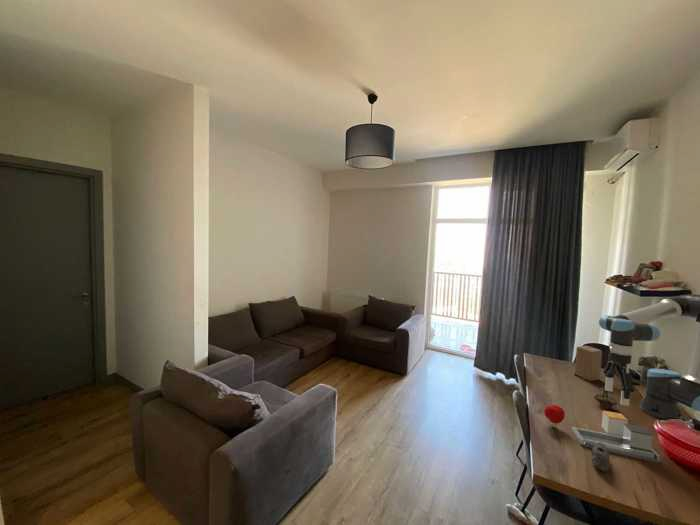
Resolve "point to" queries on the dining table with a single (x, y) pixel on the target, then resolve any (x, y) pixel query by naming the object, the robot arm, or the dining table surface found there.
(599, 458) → the perforated stone tool
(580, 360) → the wooden block
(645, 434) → the rail
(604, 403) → the figurine
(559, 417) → the red round lump
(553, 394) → the dining table surface
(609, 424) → the module
